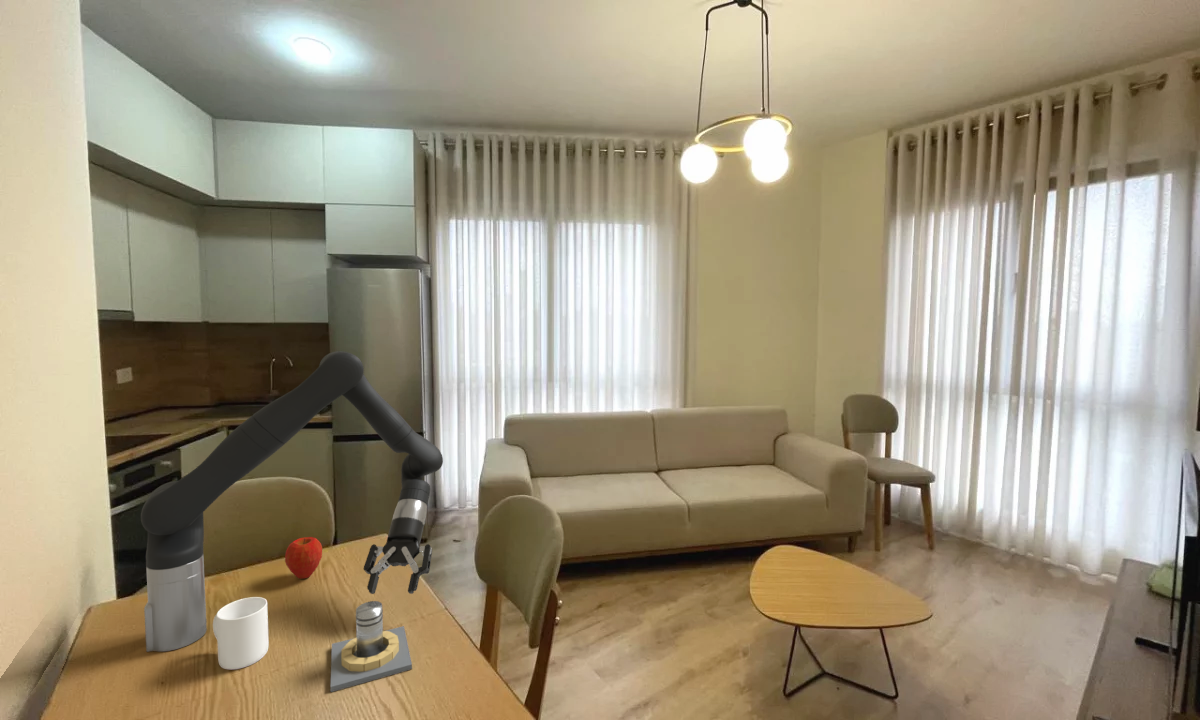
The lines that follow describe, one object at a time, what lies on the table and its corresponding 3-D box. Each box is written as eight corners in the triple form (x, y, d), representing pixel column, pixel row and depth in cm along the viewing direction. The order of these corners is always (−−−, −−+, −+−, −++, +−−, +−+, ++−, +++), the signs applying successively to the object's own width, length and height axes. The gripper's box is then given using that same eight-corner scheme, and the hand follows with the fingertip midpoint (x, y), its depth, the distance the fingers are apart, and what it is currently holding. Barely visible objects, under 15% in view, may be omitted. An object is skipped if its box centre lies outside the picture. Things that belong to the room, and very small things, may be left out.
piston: (357, 664, 98) (355, 617, 97) (356, 649, 102) (355, 604, 101) (384, 656, 100) (383, 610, 99) (382, 642, 104) (381, 598, 104)
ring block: (330, 692, 92) (330, 679, 91) (332, 648, 104) (331, 636, 104) (411, 669, 98) (411, 656, 98) (404, 630, 110) (403, 619, 110)
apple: (291, 589, 127) (290, 548, 126) (281, 578, 132) (279, 538, 132) (327, 577, 133) (326, 538, 132) (316, 567, 139) (315, 529, 138)
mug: (194, 661, 99) (192, 611, 99) (236, 637, 107) (234, 590, 107) (238, 675, 96) (236, 623, 95) (278, 649, 104) (276, 600, 103)
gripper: (373, 516, 119) (352, 587, 108) (434, 515, 119) (419, 587, 109) (383, 528, 124) (364, 598, 114) (441, 528, 125) (427, 597, 114)
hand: (391, 592), depth 111 cm, fingers open, 8 cm apart
